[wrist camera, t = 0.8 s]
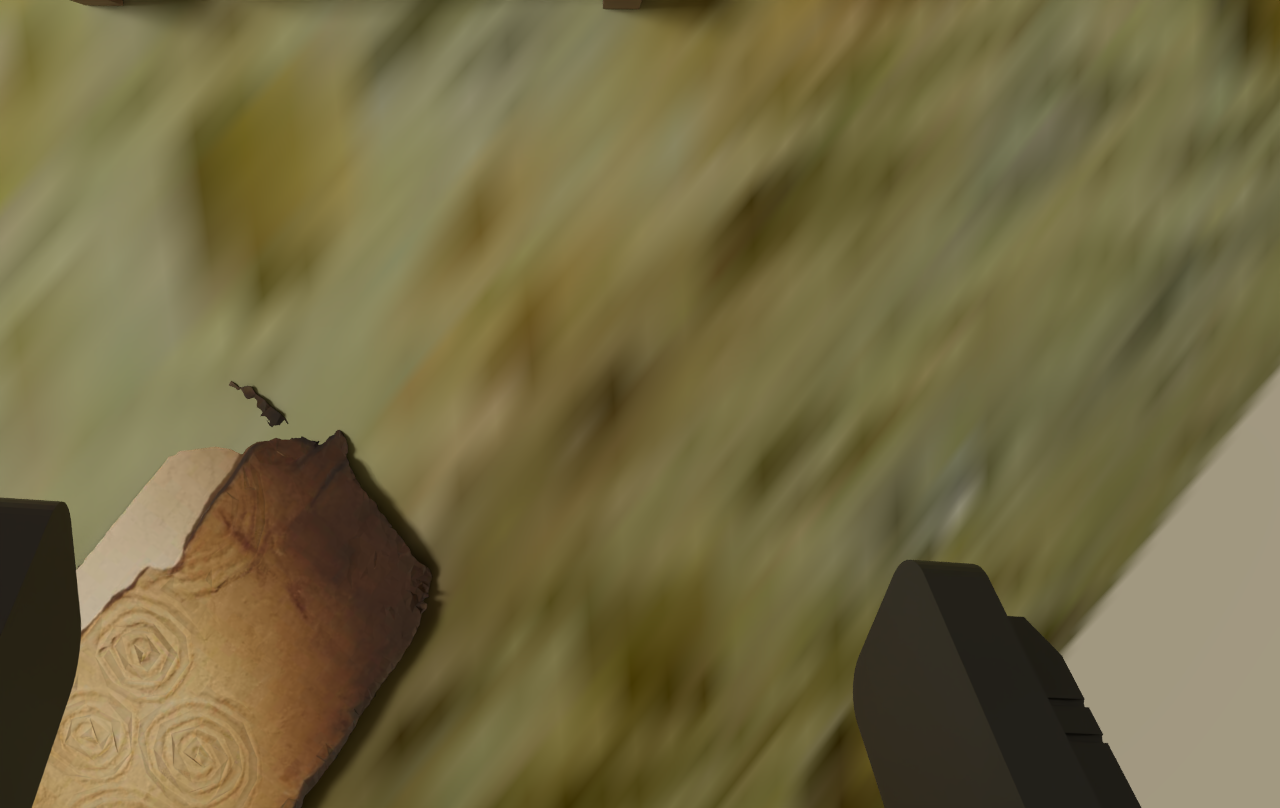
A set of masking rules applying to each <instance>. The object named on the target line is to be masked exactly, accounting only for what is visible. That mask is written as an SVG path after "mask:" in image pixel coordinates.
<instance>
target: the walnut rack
mask: <svg viewBox="0 0 1280 808" xmlns="http://www.w3.org/2000/svg"><path fill="white" fill-rule="evenodd" d="M71 1H74V2H77V3H80V4H83V5H105V6H123V0H71ZM641 2H642V0H603V9H639V8H640V5H641Z"/></svg>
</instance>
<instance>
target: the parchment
mask: <svg viewBox="0 0 1280 808" xmlns="http://www.w3.org/2000/svg"><path fill="white" fill-rule="evenodd" d="M229 386H232V387H235V388H236V389H237V390H239V389H241V390H242V391H243V393H244V395H245V397H246V398H247V399H250V398H255V399H256V400H257V407H258V408H260V409H261V410H262V412H263V413H262V414H261V416H266V417H267V418H268V419H269V420H270V423H269V422H268V424H269V425H270V426H271V427H273V426H274V425H280V424H281V423H282V422H283V421H284V420H285V421H286V419H285V418H284V417H283V416H282V415H281V414H280V413H278V412H277V411H276V410H275V409H273V408H272V407H271V406H270V405H269V404H267V403H266V401H265V400H264V399H263V398H261V397H260V396H258V395H257V394H255V392H254V390H253V389H252V387H251V386H246V387H242V388H241V387H238V386H237V385H235V384H234V383H233V382H232V381H231V382H230V384H229ZM267 421H268V420H267ZM286 422H287V421H286ZM287 424H288V423H287ZM318 443H319V441H318V442H317V443H316V442H314V441H309V440H308V439H306V438H304V437H301V438H294V439H293V438H291V439H290V440H281V439H278V438H275V439H272V440H270V441H262V442H256V443H255V444H253V445H251V446H250V447H248V448H247V449H246V451H245V452H244V453H243V454H239V453H237V452H235V451H233V450H231V449H225V448H219V447H210V448H203V449H194V450H187V451H179V452H178V453H177V455H174V456H171V457H168V458H167V460H166V461H165V463H164V464H163V465H162V466H161V467H160V469H159V470H158V471H157V472H156V473H155V475H154V476H153V477H152V478H151V479H150V481H149V482H148V483H147V484H146V485H145V486H144V488H143V489H142V490H141V491H140V493H139V494H138V495H137V496H136V497H135V499H134V500H133V501H132V502H131V504H130V505H129V506H128V508H127V509H126V510H125V512H124V513H123V514H122V515H121V516H120V517H119V518H118V520H117V521H116V522H115V523H114V524H113V525H112V526H111V528H110V530H109V531H108V532H107V533H106V535H105V536H104V538H103V539H102V540H101V541H100V542H99V543H98V544H97V546H96V547H95V549H94V550H93V551H92V552H91V553H90V554H89V555H88V556H87V557H86V559H85V560H84V563H83V564H82V565H80V566H78V568H77V570H76V575H77V585H78V595H79V605H80V614H81V643H80V652H79V660H78V666H77V671H76V676H75V680H74V684H73V687H72V690H71V694H70V697H69V699H68V702H67V705H66V708H65V711H64V714H63V717H62V720H61V723H60V726H59V729H58V732H57V735H56V738H55V741H54V744H53V747H52V750H51V753H50V756H49V759H48V762H47V765H46V767H45V770H44V773H43V776H42V779H41V782H40V785H39V788H38V791H37V794H36V797H35V800H34V803H33V806H32V808H301V807H302V804H303V799H304V797H305V795H306V794H307V793H308V792H309V791H310V790H311V789H312V788H313V787H314V786H315V784H316V783H317V782H318V781H319V779H320V778H321V777H322V775H323V774H324V772H325V770H326V769H328V767H329V765H330V764H331V763H332V762H333V761H334V760H335V759H336V758H337V756H338V755H337V754H338V753H339V752H340V750H341V749H342V747H343V746H344V744H345V743H346V741H347V739H348V737H349V735H350V734H351V732H352V731H353V729H354V728H355V727H356V724H357V721H358V719H359V716H360V715H361V714H362V713H363V711H364V710H365V708H366V707H367V706H368V705H369V704H370V701H371V700H372V698H373V697H375V694H376V691H377V690H378V689H379V688H380V686H381V684H382V683H383V682H384V681H385V679H386V678H387V676H388V675H389V674H390V672H391V671H392V670H393V669H395V667H396V665H397V663H398V662H399V661H400V660H401V658H402V656H403V654H404V652H405V649H406V648H407V647H408V646H409V645H410V643H411V641H412V639H413V637H414V635H415V633H416V631H417V628H418V626H419V625H420V619H421V614H422V613H423V612H424V611H425V610H426V609H427V604H426V603H424V602H423V601H424V598H427V597H429V595H428V591H429V587H430V582H431V579H432V575H431V572H430V569H429V568H428V567H426V566H425V565H423V564H421V563H419V562H418V561H417V560H416V558H415V557H413V556H412V555H411V552H410V548H409V547H407V545H406V544H405V542H404V541H403V540H402V538H401V537H400V536H399V535H398V534H397V532H396V530H394V529H393V528H391V527H392V525H391V524H389V522H388V520H387V519H386V517H385V516H384V515H383V514H382V513H380V511H379V510H378V506H377V504H376V502H374V501H373V500H372V499H370V498H369V497H368V495H367V493H366V492H365V491H364V490H363V489H362V488H361V487H360V483H359V482H358V481H357V480H356V478H355V475H354V473H353V471H352V469H351V468H350V467H349V461H348V459H347V457H346V454H347V453H348V445H347V442H346V439H345V437H344V435H343V433H342V432H341V431H340V430H337V431H336V433H335V434H334V435H332V436H331V437H329V438H328V439H327V440H326V442H324V443H323V444H321V445H318Z"/></svg>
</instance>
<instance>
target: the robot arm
mask: <svg viewBox="0 0 1280 808" xmlns="http://www.w3.org/2000/svg"><path fill="white" fill-rule="evenodd" d="M80 643H81V614H80V605H79V595H78V585H77V575H76V566H75V556H74V546H73V536H72V527H71V518H70V513H69V509H68V507H67V505H66V503H65V502H59V501H44V500H29V499H14V498H0V808H32V806H33V803H34V800H35V797H36V794H37V791H38V788H39V785H40V782H41V779H42V776H43V773H44V770H45V767H46V765H47V762H48V759H49V756H50V753H51V750H52V747H53V744H54V741H55V738H56V735H57V732H58V729H59V726H60V723H61V720H62V717H63V714H64V711H65V708H66V705H67V702H68V699H69V697H70V694H71V690H72V687H73V684H74V680H75V676H76V671H77V666H78V660H79V652H80ZM853 701H854V710H855V715H856V719H857V723H858V726H859V729H860V732H861V735H862V738H863V741H864V745H865V748H866V751H867V754H868V757H869V760H870V763H871V766H872V769H873V772H874V775H875V778H876V782H877V785H878V788H879V791H880V794H881V797H882V800H883V803H884V806H885V808H1141V806H1140V804H1139V802H1138V800H1137V799H1136V797H1135V795H1134V793H1133V791H1132V789H1131V787H1130V785H1129V783H1128V781H1127V779H1126V778H1125V776H1124V774H1123V772H1122V770H1121V768H1120V766H1119V764H1118V762H1117V760H1116V758H1115V756H1114V755H1113V753H1112V751H1111V749H1110V747H1109V745H1108V743H1103V742H1102V735H1103V734H1102V732H1101V730H1100V728H1099V726H1098V724H1097V722H1096V720H1095V718H1094V716H1093V715H1092V713H1091V711H1090V709H1089V708H1088V707H1084V697H1083V695H1082V693H1081V691H1080V690H1079V688H1078V686H1077V684H1076V682H1075V680H1074V678H1073V676H1072V674H1071V672H1070V670H1069V669H1068V667H1067V665H1066V663H1065V661H1064V659H1063V657H1062V655H1061V654H1060V653H1059V652H1058V651H1057V650H1056V649H1055V648H1054V647H1053V646H1052V645H1051V644H1050V643H1049V642H1048V641H1047V640H1046V639H1045V638H1044V637H1043V636H1042V635H1041V634H1040V633H1039V632H1038V631H1037V630H1036V629H1035V628H1034V627H1033V626H1032V625H1031V624H1030V623H1029V622H1028V621H1027V620H1026V619H1025V618H1024V617H1014V616H1007V614H1006V612H1005V610H1004V608H1003V606H1002V604H1001V602H1000V600H999V598H998V596H997V594H996V592H995V590H994V588H993V586H992V584H991V582H990V580H989V578H988V576H987V574H986V573H985V572H984V570H983V569H982V568H981V567H979V566H978V565H975V564H966V563H951V562H935V561H920V560H906V561H904V562H902V563H901V564H900V565H899V566H898V568H897V569H896V571H895V573H894V575H893V577H892V580H891V582H890V584H889V587H888V589H887V591H886V594H885V596H884V599H883V601H882V603H881V606H880V608H879V610H878V613H877V615H876V617H875V620H874V622H873V624H872V627H871V629H870V631H869V634H868V636H867V639H866V641H865V643H864V646H863V648H862V650H861V653H860V655H859V658H858V660H857V664H856V668H855V673H854V682H853Z"/></svg>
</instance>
